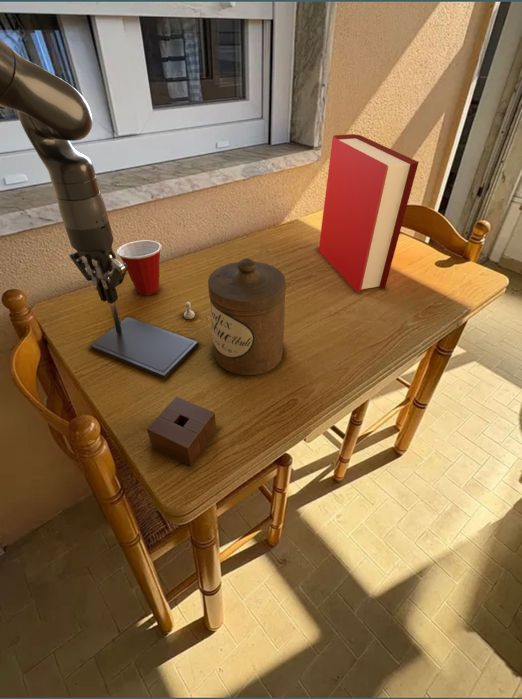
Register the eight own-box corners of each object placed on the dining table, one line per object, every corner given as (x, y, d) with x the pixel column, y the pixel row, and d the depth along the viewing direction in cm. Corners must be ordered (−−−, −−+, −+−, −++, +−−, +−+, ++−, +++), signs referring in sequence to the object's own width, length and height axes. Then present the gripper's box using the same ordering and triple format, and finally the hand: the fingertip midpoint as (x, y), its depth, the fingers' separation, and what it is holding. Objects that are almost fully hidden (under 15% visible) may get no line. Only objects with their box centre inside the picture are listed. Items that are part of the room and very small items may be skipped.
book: (384, 289, 103) (418, 162, 82) (358, 293, 101) (386, 164, 80) (339, 245, 123) (357, 133, 102) (316, 248, 121) (330, 135, 100)
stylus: (119, 335, 85) (107, 279, 76) (115, 334, 85) (102, 277, 77) (123, 333, 86) (111, 276, 77) (119, 331, 86) (107, 275, 77)
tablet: (164, 379, 76) (164, 375, 76) (90, 348, 83) (89, 345, 82) (198, 344, 84) (198, 341, 84) (128, 319, 91) (127, 316, 90)
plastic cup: (159, 274, 107) (152, 234, 99) (174, 292, 100) (167, 250, 92) (121, 284, 103) (110, 243, 95) (134, 304, 96) (123, 261, 88)
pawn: (187, 320, 91) (185, 306, 88) (182, 315, 93) (180, 301, 90) (196, 316, 92) (195, 303, 90) (191, 311, 94) (190, 298, 91)
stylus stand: (190, 466, 62) (187, 448, 58) (151, 447, 64) (146, 428, 61) (216, 430, 67) (214, 412, 64) (179, 414, 69) (176, 396, 66)
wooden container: (201, 346, 84) (191, 255, 69) (256, 323, 91) (257, 235, 76) (238, 386, 75) (235, 291, 60) (296, 357, 82) (305, 266, 67)
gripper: (41, 219, 68) (72, 300, 79) (98, 235, 63) (122, 319, 75) (74, 205, 73) (98, 284, 84) (129, 219, 68) (147, 300, 80)
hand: (109, 300), depth 79 cm, fingers closed on stylus, 1 cm apart
